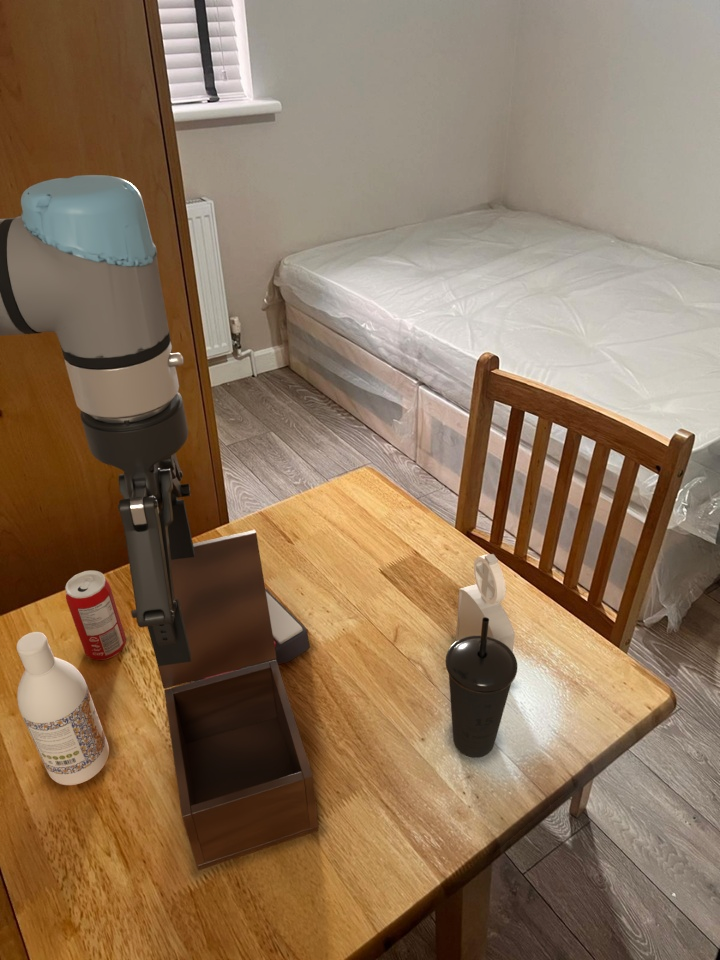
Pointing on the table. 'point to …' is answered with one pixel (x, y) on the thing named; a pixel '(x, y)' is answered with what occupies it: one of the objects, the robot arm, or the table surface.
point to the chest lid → (221, 609)
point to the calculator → (283, 633)
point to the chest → (239, 764)
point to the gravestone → (485, 603)
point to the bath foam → (59, 713)
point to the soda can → (95, 615)
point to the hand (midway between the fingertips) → (178, 604)
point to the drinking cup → (478, 690)
